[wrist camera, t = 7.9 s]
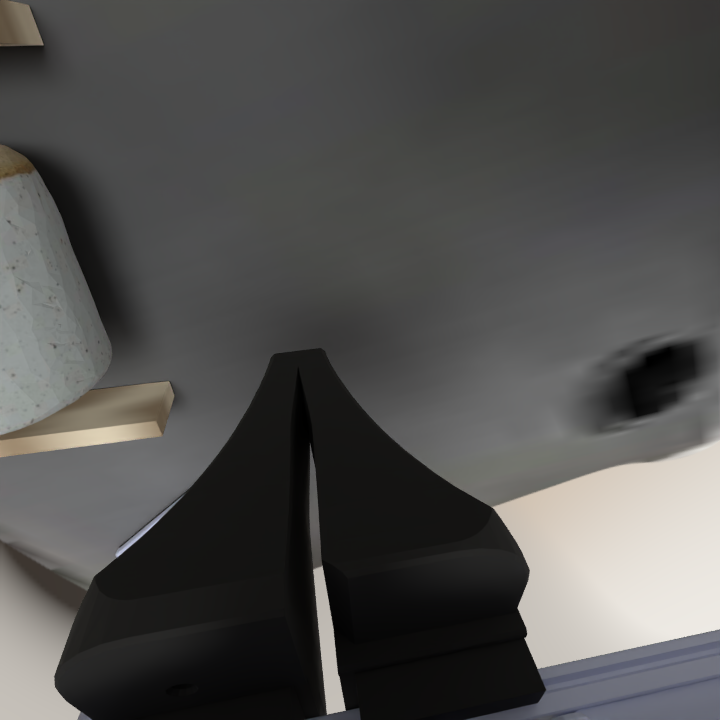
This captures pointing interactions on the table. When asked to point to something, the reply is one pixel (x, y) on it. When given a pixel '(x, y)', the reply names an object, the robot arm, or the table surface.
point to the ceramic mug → (41, 304)
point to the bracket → (96, 407)
